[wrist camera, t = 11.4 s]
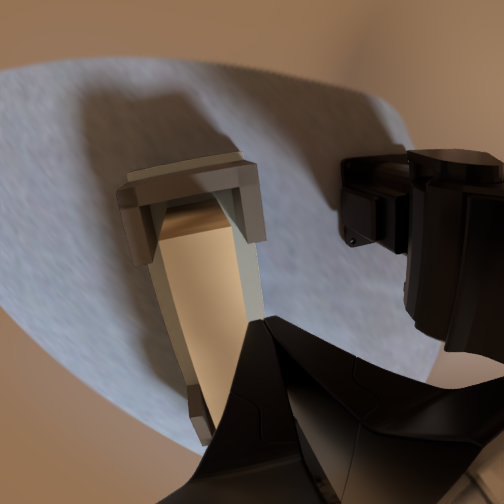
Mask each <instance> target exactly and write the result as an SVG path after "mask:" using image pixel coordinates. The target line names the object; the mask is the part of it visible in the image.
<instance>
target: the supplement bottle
mask: <svg viewBox="0 0 504 504" xmlns="http://www.w3.org/2000/svg"><path fill="white" fill-rule="evenodd" d="M294 421H295V425H296V429H297V433H298V437H299V441H300V445H301V449H302V452H303V456H304V459H305V462H306V464H307V466H308V468H309V470H310V472H311V474H312V476H313V478H314V480H315V482H316V484H317V486H318V488H319V490H320V492H321V494H322V496H323V497H324V499H325V501H326V503H327V504H342V503H341V502H342V501H340V499H339V498H338V496H337V494H336V492H335V490H334V488H333V487H332V485H331V483H330V481H329V479H328V478H327V476H326V474H325V472H324V470H323V468H322V466H321V465H320V463H319V461H318V459H317V457H316V455H315V453H314V452H313V450H312V448H311V446H310V444H309V442H308V440H307V438H306V436H305V435H304V433H303V431H302V429H301V427H300V425H299V423H298V421H297V419H296V418H294Z"/></svg>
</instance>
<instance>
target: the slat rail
mask: <svg viewBox="0 0 504 504" xmlns="http://www.w3.org/2000/svg"><path fill="white" fill-rule="evenodd" d="M127 179H128V183H126V184H125V185H123V186H122V187H121V188H119V189H118V190H117V191H116V196H117V200H118V205H119V209H120V213H121V218H122V222H123V226H124V230H125V234H126V238H127V242H128V245H129V249H130V253H131V256H132V260H133V264H134V267H136V266H141V265H146V264H147V265H148V268H149V272H150V275H151V279H152V282H153V286H154V289H155V293H156V296H157V300H158V303H159V306H160V309H161V313H162V316H163V319H164V322H165V325H166V328H167V331H168V334H169V337H170V340H171V343H172V346H173V349H174V352H175V355H176V358H177V360H178V363H179V366H180V369H181V371H182V374H183V377H184V379H185V382H186V385H187V394H188V407H189V418H190V420H191V422H192V425H193V427H194V429H195V431H196V433H197V435H198V437H199V440H200V442H201V444H202V446H207V445H209V443H210V441H211V439H212V437H213V435H214V433H215V431H216V428H215V425H214V422H213V420H212V417H211V414H210V412H209V409H208V406H207V403H206V401H205V398H204V395H203V392H202V389H201V386H200V383H199V381H198V378H197V375H196V372H195V369H194V366H193V363H192V360H191V356H190V353H189V350H188V347H187V344H186V341H185V337H184V334H183V331H182V328H181V324H180V321H179V317H178V314H177V310H176V307H175V303H174V300H173V296H172V293H171V289H170V285H169V281H168V278H167V274H166V270H165V266H164V262H163V258H162V254H161V250H160V246H159V242H158V240H159V236H160V232H161V229H162V225H163V221H164V217H165V213H166V210H167V208H169V207H174V206H179V205H184V204H189V203H194V202H199V201H204V200H210V199H215V198H216V199H217V201H218V203H219V204H220V206H221V208H222V210H223V212H224V213H225V215H226V217H227V219H228V221H229V222H230V224H231V226H232V232H233V238H234V244H235V250H236V257H237V263H238V269H239V275H240V281H241V287H242V293H243V299H244V305H245V311H246V317H247V323H249V321H253V320H258V319H262V320H263V319H264V318H265V310H264V303H263V296H262V288H261V281H260V273H259V266H258V259H257V251H256V244H255V243H256V242H261V241H266V240H267V239H266V231H265V223H264V215H263V207H262V199H261V192H260V184H259V176H258V169H257V164H256V163H253V162H250V161H246V160H244V157H243V152H242V151H238V152H231V153H225V154H219V155H213V156H207V157H202V158H196V159H191V160H185V161H180V162H175V163H170V164H165V165H161V166H156V167H151V168H147V169H142V170H138V171H134V172H129V173H128V174H127Z"/></svg>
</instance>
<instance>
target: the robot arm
mask: <svg viewBox="0 0 504 504" xmlns="http://www.w3.org/2000/svg"><path fill="white" fill-rule="evenodd" d="M408 160H409V162H408ZM348 162H349V163H350V167H349V168H347V163H348ZM341 174H342V189H341V207H342V223H343V224H344V229H345V243H346V244H347V245H348V246H349V247H358V246H362V245H366V244H371V243H375V242H377V243H378V244H380V245H382V246H383V247H385V248H387V249H388V250H390V251H392V252H393V253H395V254H403V255H405V256H407V270H406V282H404V304H405V309H406V311H407V312H408V314H409V315H410V316H411V317H412V319H413V320H414V321H415V327H416V329H418V330H419V331H421V332H422V333H424V334H425V335H427V336H429V337H431V338H433V339H436V340H438V341H442V342H445V346H444V351H446V352H467V353H473V354H479V355H482V356H485V357H488V358H490V359H493V360H495V361H498V362H500V363H503V364H504V163H503V162H501V161H500V160H498V159H496V158H495V157H494V156H492V155H490V154H489V153H486V152H480V151H472V150H463V149H426V150H407V154H389V155H375V156H362V157H350V158H344V159H343V160H342V162H341ZM352 238H354V240H353V242H351V243H350V241H351V239H352ZM292 411H293V413H294V415H295V417H296V419H297V421H298V423H299V425H300V427H301V429H302V431H303V433H304V435H305V436H306V438H307V440H308V442H309V444H310V446H311V448H312V450H313V452H314V453H315V455H316V457H317V459H318V461H319V463H320V465H321V466H322V468H323V470H324V472H325V474H326V476H327V478H328V479H329V481H330V483H331V485H332V487H333V488H334V490H335V492H336V494H337V496H338V498H339V499H340V501H342V502H341V503H342V504H504V376H503V377H500V378H497V379H494V380H490V381H487V382H483V383H480V384H476V385H472V386H468V387H465V388H460V389H443V388H439V387H435V386H432V385H429V384H426V383H423V382H420V381H417V380H414V379H411V378H408V377H405V376H402V375H399V374H396V373H393V372H391V371H388V370H385V369H383V368H380V367H378V366H376V365H374V364H371V363H369V362H367V361H365V360H363V359H361V358H359V357H356V356H355V355H352V354H350V353H348V352H346V351H344V350H342V349H340V348H338V347H336V346H334V345H332V344H330V343H328V342H326V341H324V340H323V339H321V338H319V337H317V336H315V335H313V334H311V333H309V332H307V331H305V330H303V329H301V328H299V327H297V326H295V325H293V324H292V323H290V322H288V321H286V320H284V319H282V318H280V317H278V316H270V317H266V318H264V319H263V320H262V319H258V320H253V321H249V323H248V325H247V329H246V333H245V337H244V340H243V344H242V348H241V351H240V355H239V359H238V363H237V366H236V370H235V374H234V377H233V381H232V384H231V388H230V393H229V395H228V398H227V402H226V405H225V408H224V411H223V414H222V417H221V419H220V422H219V424H218V426H217V429H216V431H215V433H214V435H213V437H212V439H211V441H210V443H209V445H208V447H207V449H206V451H205V453H204V455H203V457H202V459H201V461H200V463H199V466H198V467H197V469H196V471H195V472H194V474H193V475H192V477H191V478H190V479H189V480H188V482H187V483H185V484H184V485H183V486H182V487H180V488H179V489H177V490H176V491H174V492H173V493H171V494H170V495H168V496H167V497H165V498H164V499H162V500H161V501H159V502H157V503H156V504H327V503H326V501H325V499H324V497H323V496H322V494H321V492H320V490H319V488H318V486H317V484H316V482H315V480H314V478H313V476H312V474H311V472H310V470H309V468H308V466H307V464H306V462H305V459H304V456H303V452H302V449H301V445H300V441H299V437H298V433H297V429H296V425H295V421H294V417H293V413H292Z"/></svg>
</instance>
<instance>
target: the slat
mask: <svg viewBox="0 0 504 504" xmlns="http://www.w3.org/2000/svg"><path fill="white" fill-rule="evenodd" d="M158 242H159V246H160V250H161V254H162V258H163V262H164V266H165V270H166V274H167V278H168V281H169V285H170V289H171V293H172V296H173V300H174V303H175V307H176V310H177V314H178V317H179V321H180V324H181V328H182V331H183V334H184V337H185V341H186V344H187V347H188V350H189V353H190V356H191V360H192V363H193V366H194V369H195V372H196V375H197V378H198V381H199V383H200V386H201V389H202V392H203V395H204V398H205V401H206V403H207V406H208V409H209V412H210V414H211V417H212V420H213V422H214V425H215V428H216V429H217V426H218V424H219V422H220V419H221V417H222V414H223V411H224V408H225V405H226V402H227V398H228V395H229V393H230V388H231V384H232V381H233V377H234V374H235V370H236V366H237V363H238V359H239V355H240V351H241V348H242V344H243V340H244V337H245V333H246V329H247V325H248V323H247V317H246V311H245V305H244V299H243V293H242V287H241V281H240V275H239V269H238V263H237V257H236V250H235V244H234V238H233V232H232V226H231V224H230V222H229V221H228V219H227V217H226V215H225V213H224V212H223V210H222V208H221V206H220V204H219V203H218V201H217V199H216V198H215V199H210V200H204V201H199V202H194V203H189V204H184V205H179V206H174V207H169V208H167V210H166V213H165V217H164V221H163V225H162V229H161V232H160V236H159V240H158Z"/></svg>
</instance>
